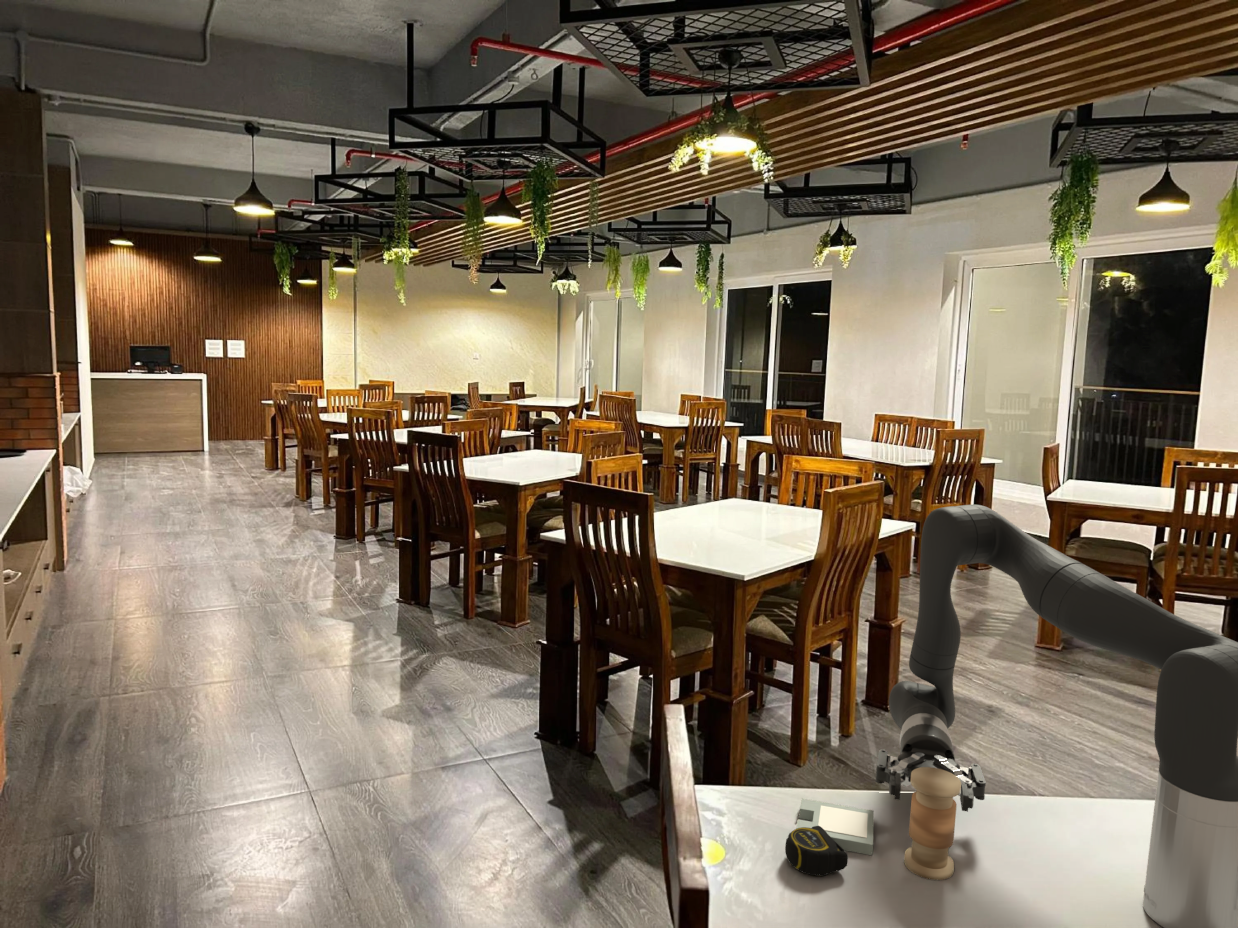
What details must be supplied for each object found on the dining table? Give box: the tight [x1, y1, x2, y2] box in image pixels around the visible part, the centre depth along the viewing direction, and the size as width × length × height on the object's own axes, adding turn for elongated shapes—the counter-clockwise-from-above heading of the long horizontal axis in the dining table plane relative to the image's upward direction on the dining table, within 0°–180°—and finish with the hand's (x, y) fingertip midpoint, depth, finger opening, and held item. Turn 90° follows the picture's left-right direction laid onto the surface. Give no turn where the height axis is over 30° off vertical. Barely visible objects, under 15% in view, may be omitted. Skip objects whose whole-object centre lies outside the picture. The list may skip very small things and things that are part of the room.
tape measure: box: [784, 826, 849, 877], centre depth 112 cm, size 7×7×4 cm
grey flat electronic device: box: [795, 797, 875, 856], centre depth 120 cm, size 10×9×2 cm
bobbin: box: [903, 767, 961, 881], centre depth 111 cm, size 6×6×12 cm
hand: (931, 798), depth 115 cm, fingers open, 8 cm apart
